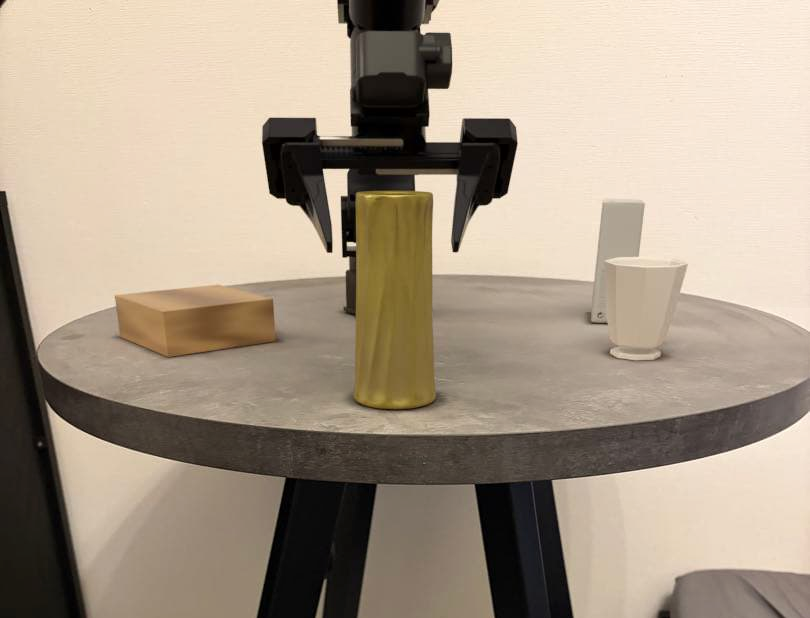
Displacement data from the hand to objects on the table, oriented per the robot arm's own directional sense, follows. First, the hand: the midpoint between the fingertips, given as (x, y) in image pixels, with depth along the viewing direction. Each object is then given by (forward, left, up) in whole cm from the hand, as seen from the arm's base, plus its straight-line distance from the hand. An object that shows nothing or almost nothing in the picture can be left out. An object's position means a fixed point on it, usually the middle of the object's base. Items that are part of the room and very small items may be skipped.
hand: (393, 248), depth 63 cm
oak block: (+7, -25, -10) cm, 28 cm away
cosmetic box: (-35, -13, -10) cm, 39 cm away
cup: (-26, 0, -10) cm, 28 cm away
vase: (+1, +3, -10) cm, 11 cm away
